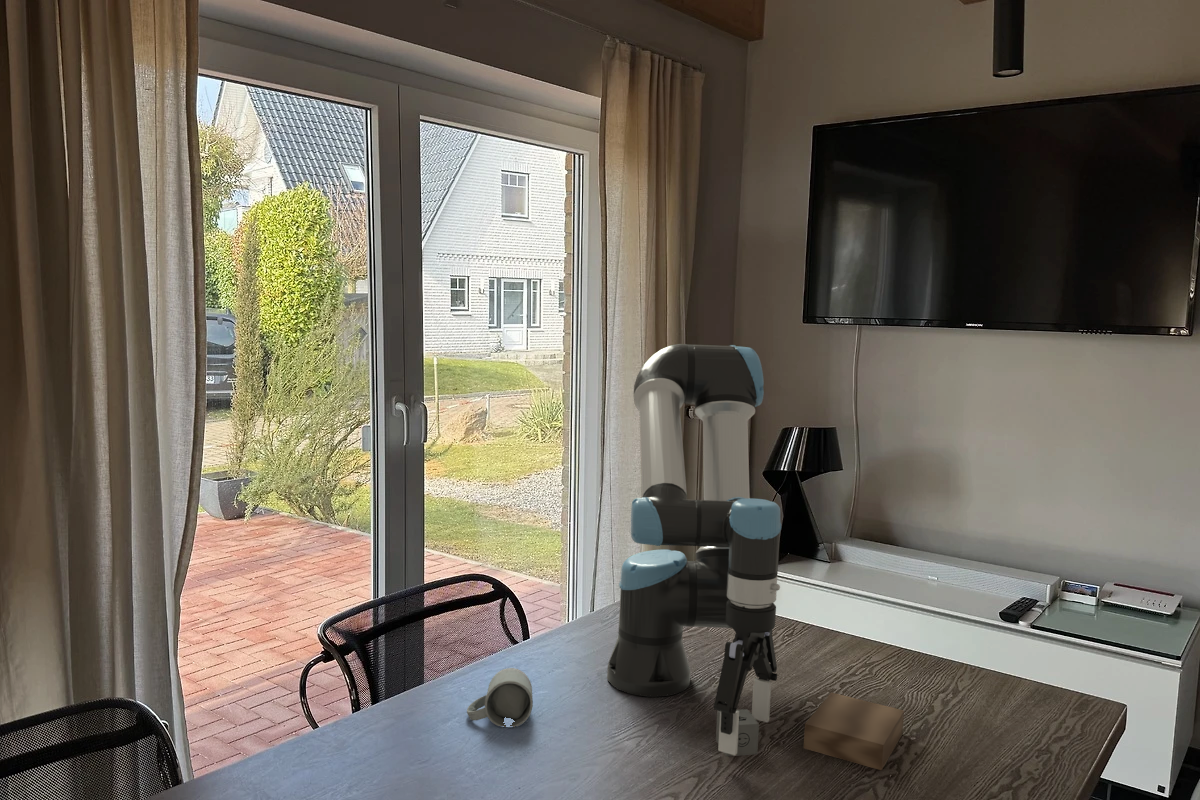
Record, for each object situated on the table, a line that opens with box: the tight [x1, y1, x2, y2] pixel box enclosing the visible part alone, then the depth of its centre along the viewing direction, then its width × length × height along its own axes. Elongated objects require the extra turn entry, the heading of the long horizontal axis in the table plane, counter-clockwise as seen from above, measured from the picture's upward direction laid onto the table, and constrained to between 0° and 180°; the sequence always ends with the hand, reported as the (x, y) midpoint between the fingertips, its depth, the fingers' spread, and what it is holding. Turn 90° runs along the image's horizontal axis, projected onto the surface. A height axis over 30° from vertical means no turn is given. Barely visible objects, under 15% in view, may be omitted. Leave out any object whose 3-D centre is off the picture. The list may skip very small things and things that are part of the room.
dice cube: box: [715, 708, 760, 757], centre depth 141 cm, size 5×5×5 cm
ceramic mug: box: [466, 667, 534, 728], centre depth 148 cm, size 11×8×8 cm
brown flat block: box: [803, 691, 905, 771], centre depth 144 cm, size 12×14×4 cm
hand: (744, 735), depth 140 cm, fingers open, 13 cm apart
